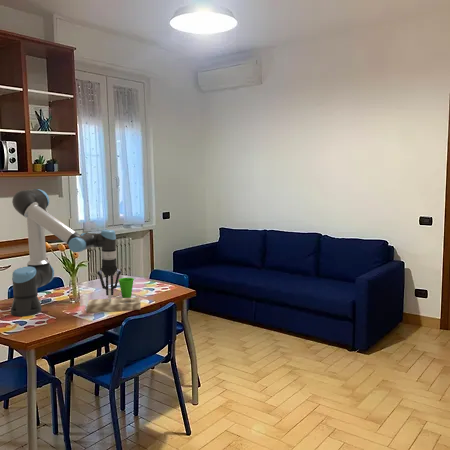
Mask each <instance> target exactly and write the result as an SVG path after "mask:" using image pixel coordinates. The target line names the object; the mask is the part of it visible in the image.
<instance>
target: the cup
mask: <svg viewBox="0 0 450 450" xmlns="http://www.w3.org/2000/svg"><path fill="white" fill-rule="evenodd" d="M134 280H135V278H133V277H122V278H119V279H118V284H119V287H120V288H119V289H120V293H121V298H132V293H133V286H134Z"/></svg>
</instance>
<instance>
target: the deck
mask: <svg viewBox="0 0 450 450" xmlns="http://www.w3.org/2000/svg"><path fill="white" fill-rule="evenodd" d="M125 302H128V303H125ZM141 307H142V306H141V296H139V297H137V296H136V297H131V298H122V297H120V298H118V297H116V298H111V302H108V298H98V299H88V301H87V305H86V312H87V313H101V312H115V311H116V312H119V311H120V310H122V311H134V310H135V311H138V310H141Z"/></svg>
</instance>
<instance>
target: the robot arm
mask: <svg viewBox="0 0 450 450" xmlns="http://www.w3.org/2000/svg"><path fill="white" fill-rule="evenodd" d="M49 204H50V198H49V195H48V193H47V192H46V191H45V190H43V189H39V188H38V189H36V188H31V189H23V190H22V189H21V190H18V191H17V192H16V193H14V195H13V197H12V206H13V208H14V210H15V211H17V213H19V214H20V215H21V216H23V217H24V218H26V223H27V225H26V226H27V236H28V237H27V238H28V239H27V240H28V250H29V251H28V252H29V261H28V262H27V264H26V265H27V266H22V267H19V268H16V269H14V270H13V272H12V275H11V276H12V291H13V295H12V296H13V300H12V304H11V307H10V314H11V316H16V317H28V316H32V315H36V314H38V313H41V312H42V305H41V301H40V300H39V297H38V289H39V288H41V287H43V286H47V285H49V283H51V282H52V281H53V280H54V276H55V269H54V267H52V264H50V261H49V260H48V258H47V249H46V248H47V247H46V233H45V230H47V231H48V232H49V233H51V234H52V235H54V236H55V237H57V238H58V239H59V240H60V241H62V242H64V243H65V244H67V246H68V248H69V251H71V252H73V253H81V252H83V251H85V250H88V249H91V248H101V268H100V270H97V271H96V274H97V275H98V278H99V280H100V284H101V287H102V290H103V289H104V290H105V294H106V296H107V297H108V298H107V299H108V302H111V299H112V296H114V289H117V287H118V284H119V281H118V280H119V279H120V275H121V273H122V270H121V269H118V266H117V259H116V258H117V244H116V243H117V236H116V230H114V229H103V230H101V231H100V233H99V232H98V233H97V232H96V233H95V232H94V233H93V232H82V233H80V234H79V233H78V232H77V231H75V230H74V229H73V228H71V227H70V226H68V225H67V224H65V223H63V222H62V220H61V221H60V219H58V218H56V217H55V216H54V215H53V214H51V213H49V212H48V211H47V208H48V207H49ZM103 274H104V276H105V282H104V277H103ZM115 274H116V277H115V278H116V279H115V281H114V275H115ZM109 276H110V288H109ZM114 282H115V283H114Z"/></svg>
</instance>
